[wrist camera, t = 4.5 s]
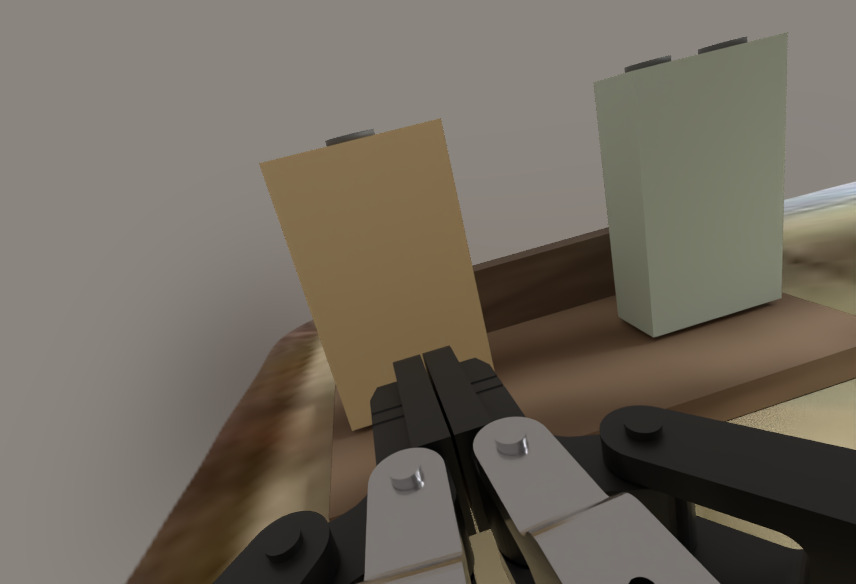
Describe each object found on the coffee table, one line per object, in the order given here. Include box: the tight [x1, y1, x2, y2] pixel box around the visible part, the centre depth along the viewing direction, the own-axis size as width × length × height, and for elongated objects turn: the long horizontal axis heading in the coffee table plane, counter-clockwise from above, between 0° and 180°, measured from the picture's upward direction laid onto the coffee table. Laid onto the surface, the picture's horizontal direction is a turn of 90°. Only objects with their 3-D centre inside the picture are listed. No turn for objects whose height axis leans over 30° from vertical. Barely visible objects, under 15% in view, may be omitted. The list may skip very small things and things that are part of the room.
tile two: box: [594, 32, 788, 338], centre depth 21 cm, size 3×7×12 cm, turn 101°
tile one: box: [259, 119, 495, 431], centre depth 20 cm, size 3×7×12 cm, turn 101°
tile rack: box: [329, 227, 856, 522], centre depth 22 cm, size 12×24×6 cm, turn 101°
